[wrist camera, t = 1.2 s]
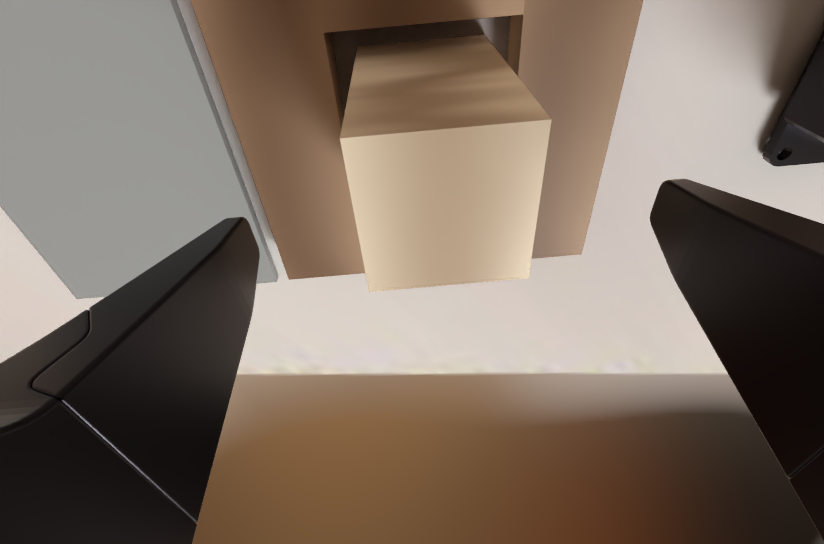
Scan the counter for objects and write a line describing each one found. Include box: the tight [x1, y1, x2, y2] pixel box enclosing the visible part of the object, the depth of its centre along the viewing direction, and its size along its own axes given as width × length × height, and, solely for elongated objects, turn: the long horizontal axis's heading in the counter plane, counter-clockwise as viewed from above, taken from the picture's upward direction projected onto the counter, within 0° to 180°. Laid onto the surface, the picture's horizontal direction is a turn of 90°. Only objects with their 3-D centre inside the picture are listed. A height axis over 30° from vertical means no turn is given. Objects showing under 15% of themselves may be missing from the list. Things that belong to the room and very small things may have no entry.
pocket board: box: [191, 0, 643, 279], centre depth 14 cm, size 12×12×2 cm
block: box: [340, 35, 552, 292], centre depth 12 cm, size 4×4×7 cm
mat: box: [0, 0, 278, 299], centre depth 14 cm, size 9×14×1 cm, turn 4°
